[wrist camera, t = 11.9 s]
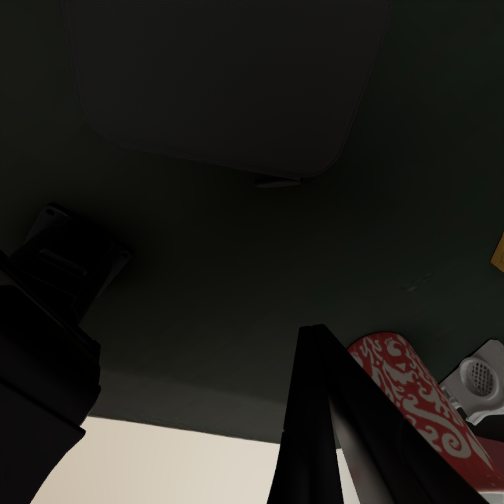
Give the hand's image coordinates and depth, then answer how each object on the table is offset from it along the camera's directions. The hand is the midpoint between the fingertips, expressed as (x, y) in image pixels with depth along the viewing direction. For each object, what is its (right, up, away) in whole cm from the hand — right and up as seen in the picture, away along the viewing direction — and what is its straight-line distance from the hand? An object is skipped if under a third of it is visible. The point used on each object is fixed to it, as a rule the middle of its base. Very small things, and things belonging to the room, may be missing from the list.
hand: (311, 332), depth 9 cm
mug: (+11, -10, +22) cm, 27 cm away
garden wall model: (+24, -12, +24) cm, 36 cm away
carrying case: (-4, +13, +6) cm, 14 cm away
